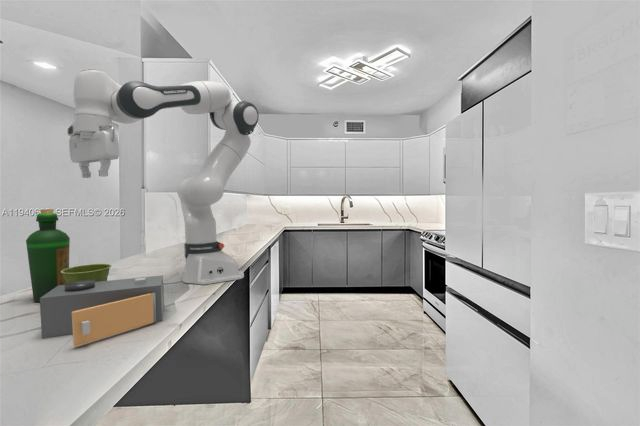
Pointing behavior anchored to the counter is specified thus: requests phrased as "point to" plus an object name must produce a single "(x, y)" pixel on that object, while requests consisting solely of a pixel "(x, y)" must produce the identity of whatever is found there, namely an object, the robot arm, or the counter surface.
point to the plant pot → (86, 273)
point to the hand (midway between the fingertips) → (94, 177)
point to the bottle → (47, 254)
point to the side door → (112, 318)
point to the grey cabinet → (93, 300)
